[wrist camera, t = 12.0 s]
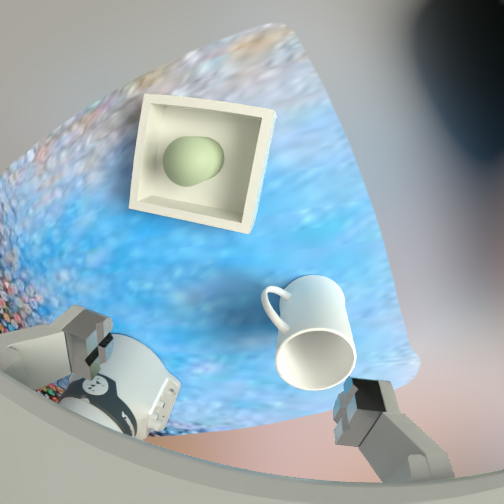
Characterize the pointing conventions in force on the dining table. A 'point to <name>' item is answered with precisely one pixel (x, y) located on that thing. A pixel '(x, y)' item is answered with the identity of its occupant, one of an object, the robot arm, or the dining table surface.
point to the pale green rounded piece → (192, 160)
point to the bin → (218, 187)
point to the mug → (312, 333)
